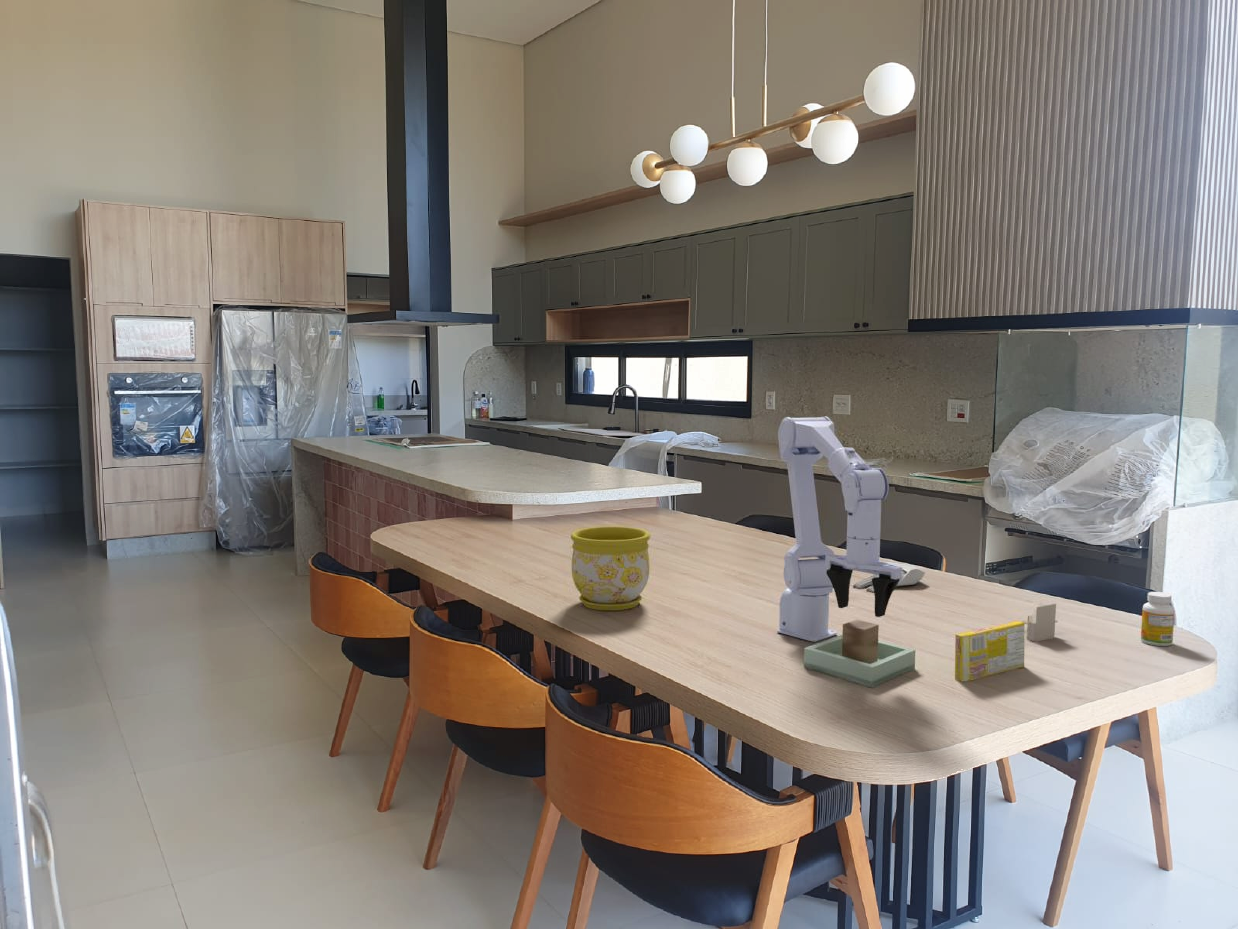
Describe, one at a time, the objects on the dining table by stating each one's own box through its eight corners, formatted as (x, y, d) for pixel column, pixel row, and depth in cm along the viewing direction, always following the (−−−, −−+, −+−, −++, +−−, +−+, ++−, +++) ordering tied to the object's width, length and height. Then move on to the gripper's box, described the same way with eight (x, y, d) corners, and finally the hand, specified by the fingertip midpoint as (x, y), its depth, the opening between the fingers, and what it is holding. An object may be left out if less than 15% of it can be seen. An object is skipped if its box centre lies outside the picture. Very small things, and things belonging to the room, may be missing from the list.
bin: (803, 667, 163) (804, 648, 162) (847, 650, 172) (848, 632, 172) (871, 687, 152) (872, 667, 152) (914, 668, 162) (915, 649, 161)
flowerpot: (612, 619, 193) (612, 544, 191) (554, 604, 205) (554, 533, 204) (666, 603, 206) (666, 532, 205) (608, 589, 219) (608, 523, 217)
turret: (847, 595, 223) (845, 576, 222) (900, 572, 233) (899, 555, 232) (879, 604, 214) (877, 585, 213) (933, 580, 225) (931, 562, 224)
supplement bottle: (1143, 636, 180) (1146, 589, 179) (1174, 642, 177) (1177, 593, 176) (1138, 643, 176) (1141, 594, 175) (1170, 648, 173) (1173, 599, 172)
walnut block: (841, 662, 162) (842, 624, 161) (855, 656, 165) (856, 619, 164) (863, 668, 159) (864, 629, 158) (877, 662, 162) (878, 624, 161)
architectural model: (1020, 639, 180) (1021, 603, 180) (1043, 634, 184) (1045, 598, 183) (1035, 644, 177) (1036, 607, 177) (1058, 639, 181) (1060, 602, 180)
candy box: (1014, 664, 164) (1017, 620, 163) (1025, 667, 163) (1027, 623, 162) (952, 679, 157) (954, 633, 156) (962, 683, 155) (964, 636, 154)
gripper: (816, 533, 162) (814, 607, 164) (887, 546, 152) (884, 624, 153) (838, 529, 167) (836, 600, 169) (909, 540, 156) (906, 616, 158)
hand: (861, 611), depth 161 cm, fingers open, 7 cm apart
